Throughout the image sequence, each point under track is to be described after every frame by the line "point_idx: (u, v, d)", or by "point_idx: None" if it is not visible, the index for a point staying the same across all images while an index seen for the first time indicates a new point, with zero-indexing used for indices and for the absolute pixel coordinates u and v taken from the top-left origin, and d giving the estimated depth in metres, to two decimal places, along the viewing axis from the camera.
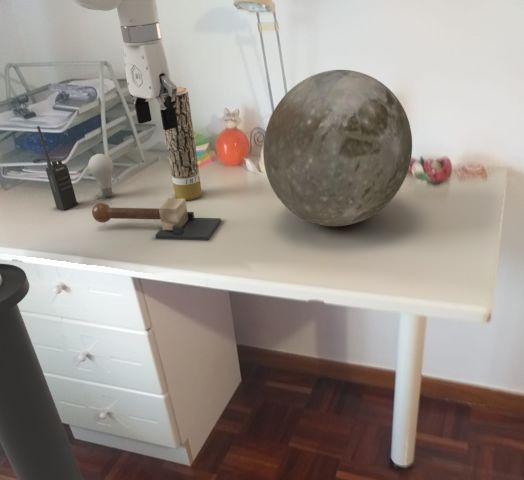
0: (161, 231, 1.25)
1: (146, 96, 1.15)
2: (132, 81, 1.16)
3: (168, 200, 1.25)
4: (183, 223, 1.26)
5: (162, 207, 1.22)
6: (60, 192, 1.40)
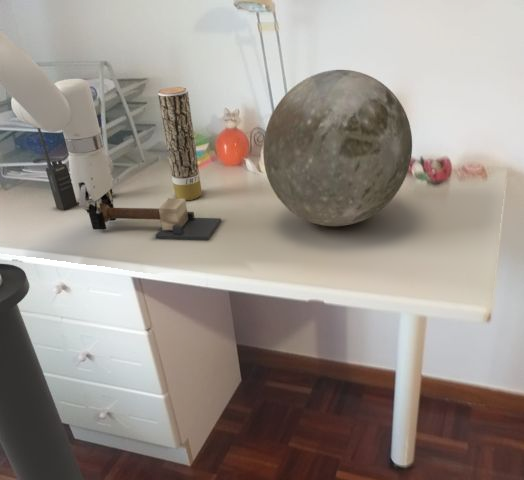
0: (161, 231, 1.25)
1: None
2: None
3: (168, 200, 1.25)
4: (183, 223, 1.26)
5: (162, 207, 1.22)
6: (60, 192, 1.40)
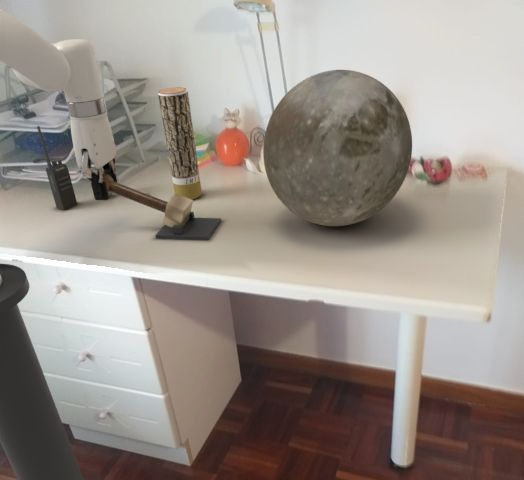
0: (161, 231, 1.25)
1: None
2: None
3: (176, 196, 1.25)
4: (184, 223, 1.26)
5: (170, 203, 1.21)
6: (60, 192, 1.40)
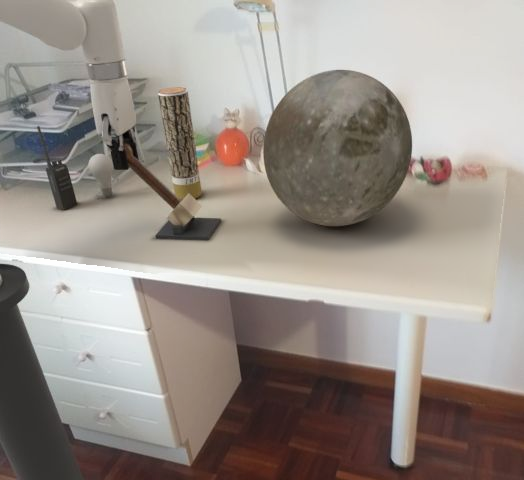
0: (161, 231, 1.25)
1: None
2: None
3: (188, 196, 1.24)
4: None
5: (182, 204, 1.21)
6: (60, 192, 1.40)
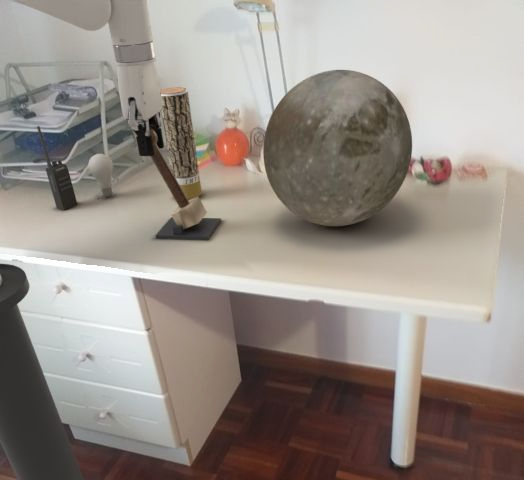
0: (161, 231, 1.25)
1: None
2: None
3: (197, 200, 1.24)
4: None
5: (192, 208, 1.21)
6: (60, 192, 1.40)
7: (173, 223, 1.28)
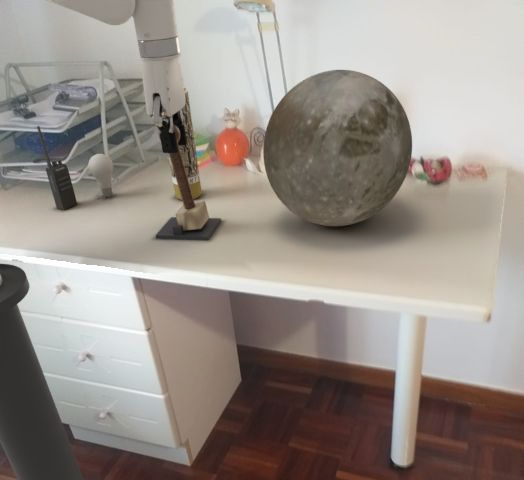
0: (161, 231, 1.25)
1: None
2: None
3: (203, 205, 1.24)
4: None
5: (198, 213, 1.21)
6: (60, 192, 1.40)
7: (173, 223, 1.28)
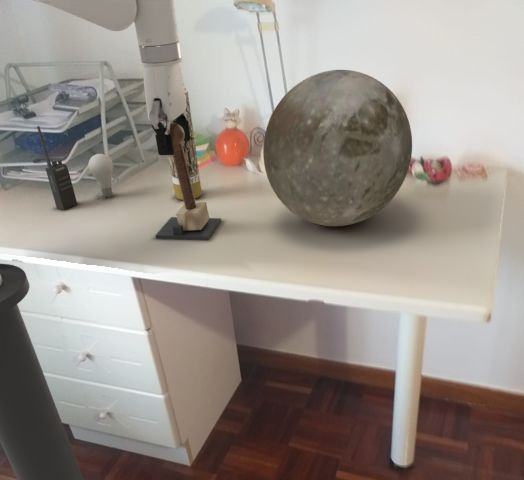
0: (161, 231, 1.25)
1: None
2: None
3: (204, 206, 1.24)
4: None
5: (199, 214, 1.21)
6: (60, 192, 1.40)
7: (173, 223, 1.28)
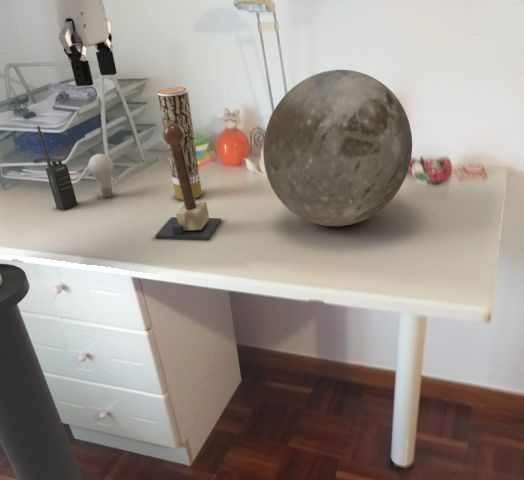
0: (161, 231, 1.25)
1: None
2: None
3: (204, 206, 1.24)
4: None
5: (199, 214, 1.21)
6: (60, 192, 1.40)
7: (173, 223, 1.28)
